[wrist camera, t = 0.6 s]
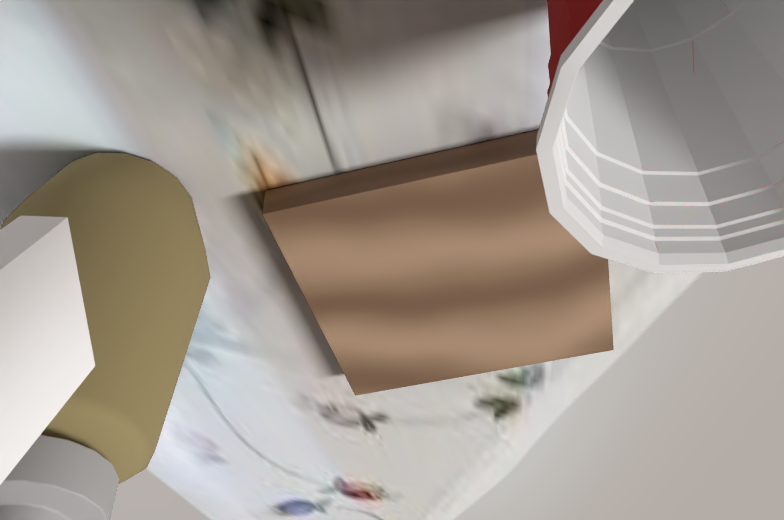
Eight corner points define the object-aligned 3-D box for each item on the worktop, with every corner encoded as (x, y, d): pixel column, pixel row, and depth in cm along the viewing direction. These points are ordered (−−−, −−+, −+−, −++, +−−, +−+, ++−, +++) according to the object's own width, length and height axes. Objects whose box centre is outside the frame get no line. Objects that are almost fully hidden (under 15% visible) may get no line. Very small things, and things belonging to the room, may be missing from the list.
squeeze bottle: (126, 288, 37) (9, 706, 24) (-16, 181, 31) (-257, 640, 19) (258, 222, 34) (205, 656, 21) (127, 93, 29) (-46, 562, 16)
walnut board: (265, 191, 32) (262, 214, 31) (592, 117, 30) (600, 140, 29) (355, 373, 42) (355, 395, 41) (606, 327, 40) (613, 349, 39)
